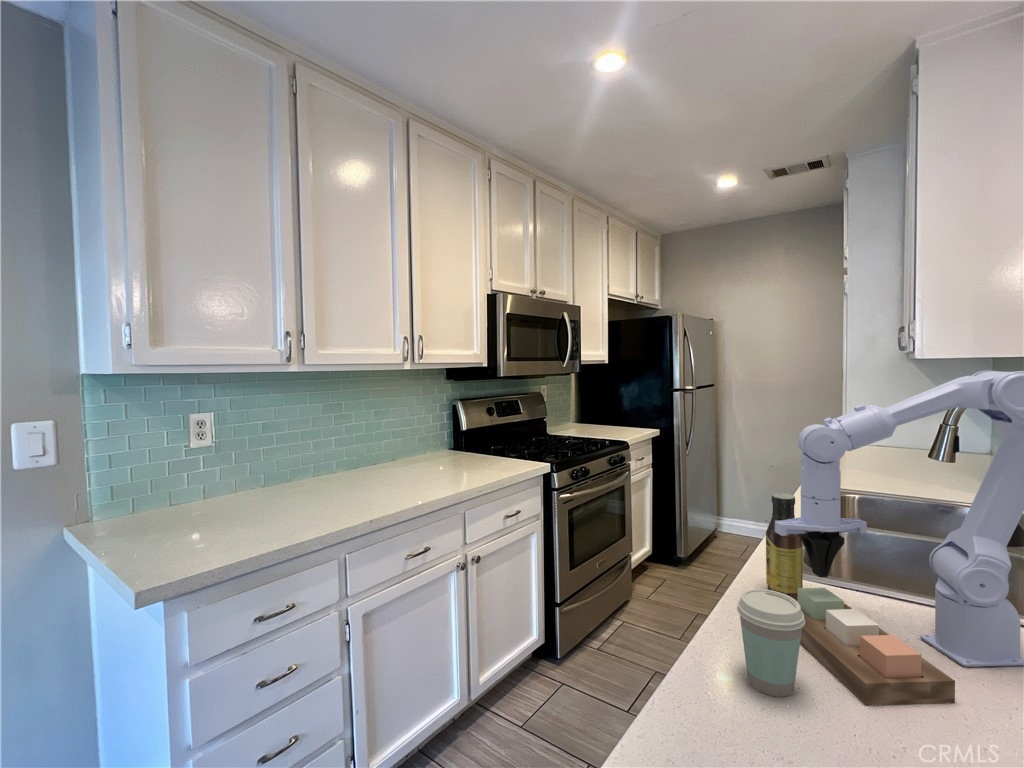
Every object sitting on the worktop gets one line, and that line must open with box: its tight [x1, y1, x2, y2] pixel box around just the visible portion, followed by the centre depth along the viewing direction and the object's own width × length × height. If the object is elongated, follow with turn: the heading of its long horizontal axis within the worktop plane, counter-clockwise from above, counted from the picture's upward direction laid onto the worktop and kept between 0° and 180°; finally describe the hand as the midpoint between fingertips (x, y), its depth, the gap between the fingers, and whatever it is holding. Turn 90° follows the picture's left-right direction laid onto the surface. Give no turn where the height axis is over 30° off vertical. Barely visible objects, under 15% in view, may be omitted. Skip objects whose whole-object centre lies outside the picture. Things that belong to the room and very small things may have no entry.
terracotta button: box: [860, 634, 922, 679], centre depth 68 cm, size 5×5×4 cm
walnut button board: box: [800, 602, 956, 706], centre depth 75 cm, size 12×22×3 cm, turn 1°
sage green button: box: [797, 587, 845, 620], centre depth 83 cm, size 5×5×4 cm
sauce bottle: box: [765, 492, 804, 600], centre depth 95 cm, size 7×6×20 cm
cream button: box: [826, 608, 880, 647], centre depth 75 cm, size 5×5×4 cm
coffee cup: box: [736, 588, 805, 698], centre depth 69 cm, size 8×8×12 cm
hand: (820, 574), depth 82 cm, fingers closed
